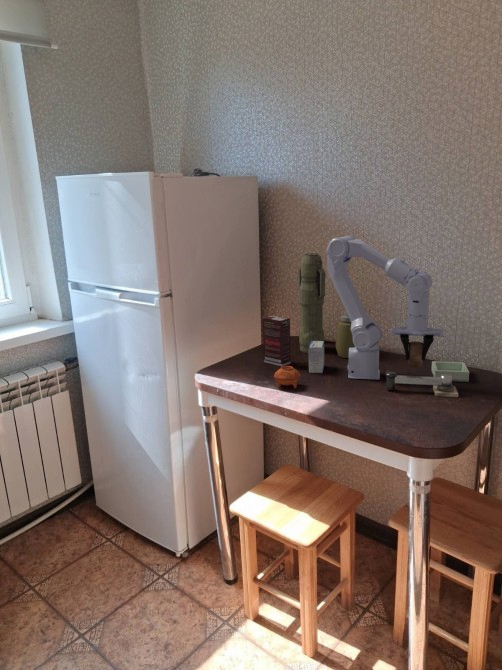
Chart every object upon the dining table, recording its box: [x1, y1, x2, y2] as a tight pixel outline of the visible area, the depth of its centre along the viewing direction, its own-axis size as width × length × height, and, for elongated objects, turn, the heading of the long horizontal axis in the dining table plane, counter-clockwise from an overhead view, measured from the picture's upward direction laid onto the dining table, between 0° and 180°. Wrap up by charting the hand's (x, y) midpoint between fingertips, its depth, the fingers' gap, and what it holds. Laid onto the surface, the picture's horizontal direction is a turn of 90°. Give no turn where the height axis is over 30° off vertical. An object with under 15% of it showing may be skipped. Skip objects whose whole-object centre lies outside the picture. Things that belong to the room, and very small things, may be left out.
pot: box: [273, 365, 301, 390], centre depth 160 cm, size 8×8×7 cm
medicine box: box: [308, 340, 325, 374], centre depth 174 cm, size 8×4×9 cm, turn 168°
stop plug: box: [407, 340, 423, 369], centre depth 158 cm, size 4×4×7 cm
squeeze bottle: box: [335, 309, 355, 359], centre depth 186 cm, size 8×8×18 cm
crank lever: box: [385, 371, 453, 391], centre depth 152 cm, size 18×3×5 cm, turn 77°
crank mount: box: [398, 374, 459, 398], centre depth 157 cm, size 16×16×2 cm
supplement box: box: [262, 315, 292, 367], centre depth 181 cm, size 9×5×16 cm, turn 46°
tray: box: [431, 360, 470, 383], centre depth 165 cm, size 10×10×3 cm
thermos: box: [298, 253, 326, 354], centre depth 192 cm, size 9×12×35 cm
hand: (415, 359), depth 158 cm, fingers closed on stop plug, 4 cm apart
